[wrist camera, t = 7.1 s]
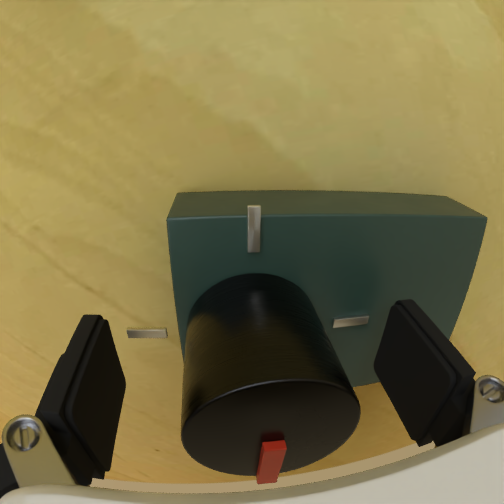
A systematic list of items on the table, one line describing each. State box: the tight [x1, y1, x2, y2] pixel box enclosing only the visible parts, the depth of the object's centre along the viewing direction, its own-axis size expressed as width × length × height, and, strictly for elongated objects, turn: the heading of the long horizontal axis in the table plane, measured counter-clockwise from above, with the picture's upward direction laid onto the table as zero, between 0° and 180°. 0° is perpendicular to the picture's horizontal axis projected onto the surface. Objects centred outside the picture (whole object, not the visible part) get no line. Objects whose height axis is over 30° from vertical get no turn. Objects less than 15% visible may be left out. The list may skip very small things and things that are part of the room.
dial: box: [181, 273, 360, 484], centre depth 9 cm, size 4×4×5 cm
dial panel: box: [127, 190, 487, 387], centre depth 12 cm, size 14×9×3 cm, turn 89°
